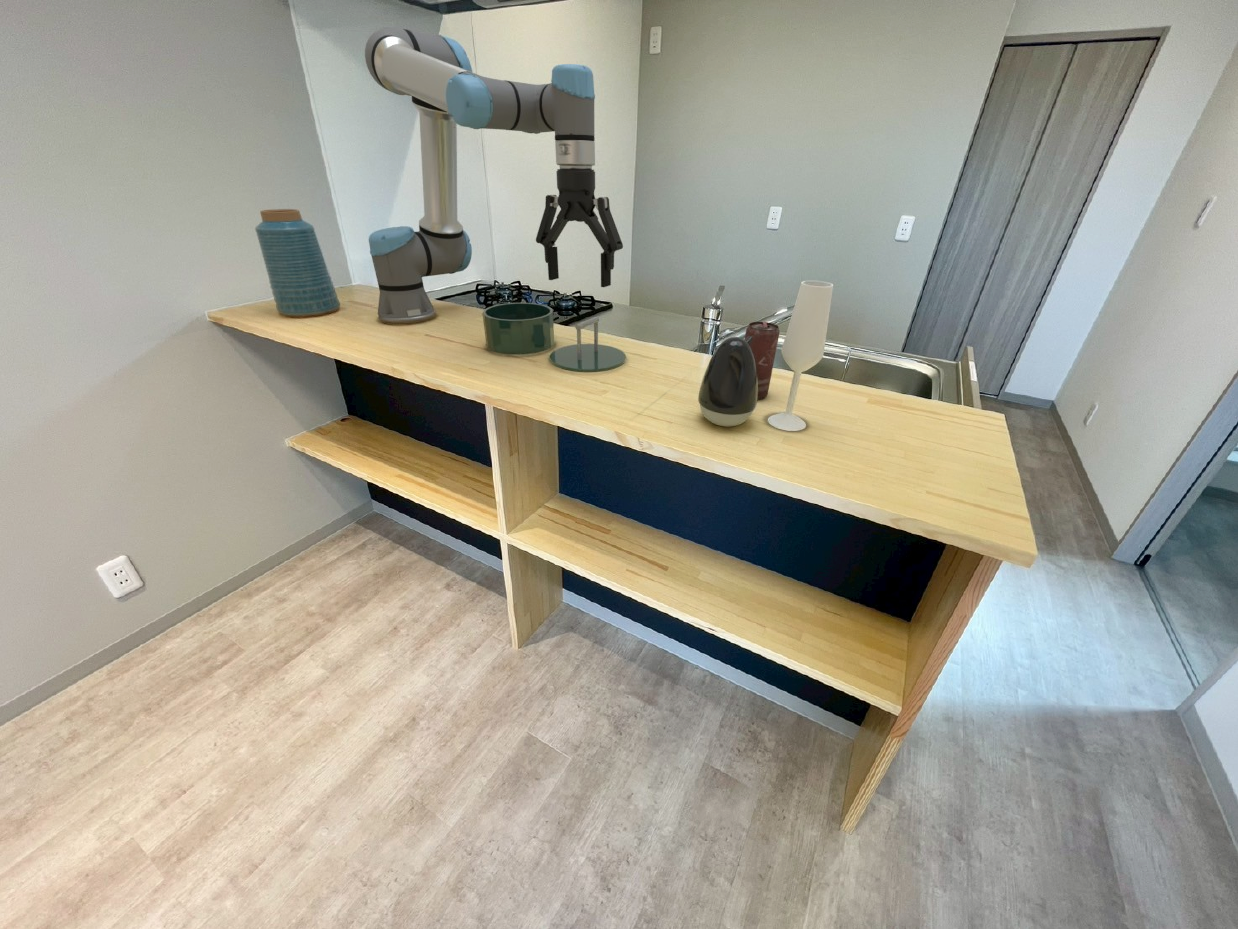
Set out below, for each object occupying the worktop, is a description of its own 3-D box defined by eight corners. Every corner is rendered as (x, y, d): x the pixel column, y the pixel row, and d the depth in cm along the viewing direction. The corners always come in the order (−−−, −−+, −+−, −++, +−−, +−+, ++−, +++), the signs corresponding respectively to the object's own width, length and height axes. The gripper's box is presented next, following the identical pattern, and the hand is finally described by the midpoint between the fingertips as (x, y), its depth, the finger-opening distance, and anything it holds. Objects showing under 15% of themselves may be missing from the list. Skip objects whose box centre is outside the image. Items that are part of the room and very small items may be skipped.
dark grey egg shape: (764, 419, 89) (780, 337, 81) (733, 439, 83) (747, 351, 75) (716, 403, 95) (727, 324, 87) (684, 420, 89) (693, 337, 81)
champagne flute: (764, 413, 92) (789, 278, 79) (800, 414, 91) (831, 279, 79) (772, 430, 86) (801, 287, 73) (811, 431, 86) (846, 289, 73)
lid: (534, 364, 111) (531, 323, 106) (578, 344, 124) (577, 306, 119) (600, 380, 104) (600, 337, 99) (639, 357, 117) (640, 317, 112)
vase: (332, 317, 140) (302, 213, 126) (269, 319, 137) (231, 213, 123) (347, 303, 154) (322, 208, 140) (290, 305, 151) (259, 207, 137)
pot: (472, 348, 120) (467, 313, 115) (517, 332, 132) (514, 299, 128) (525, 361, 113) (522, 324, 108) (567, 342, 125) (566, 308, 121)
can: (764, 388, 102) (777, 320, 94) (769, 401, 96) (783, 330, 89) (734, 386, 102) (745, 319, 95) (738, 399, 97) (749, 328, 90)
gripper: (513, 166, 97) (522, 279, 108) (621, 168, 87) (620, 292, 98) (536, 167, 103) (543, 273, 114) (641, 168, 92) (638, 286, 103)
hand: (579, 282), depth 106 cm, fingers open, 13 cm apart
